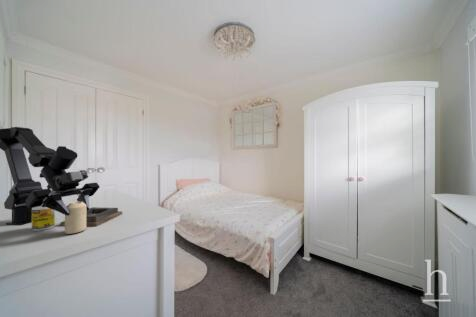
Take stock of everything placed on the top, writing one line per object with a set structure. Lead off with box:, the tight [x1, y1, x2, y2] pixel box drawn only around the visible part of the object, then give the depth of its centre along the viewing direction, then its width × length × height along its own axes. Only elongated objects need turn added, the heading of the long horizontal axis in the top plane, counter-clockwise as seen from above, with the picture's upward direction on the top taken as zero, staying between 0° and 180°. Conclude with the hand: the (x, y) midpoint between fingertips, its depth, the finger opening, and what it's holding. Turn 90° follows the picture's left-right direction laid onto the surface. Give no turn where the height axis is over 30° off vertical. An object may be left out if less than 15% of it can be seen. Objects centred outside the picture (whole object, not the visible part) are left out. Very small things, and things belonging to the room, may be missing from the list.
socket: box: [60, 207, 123, 227], centre depth 73 cm, size 14×14×3 cm
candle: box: [64, 200, 87, 235], centre depth 61 cm, size 6×6×10 cm
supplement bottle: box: [31, 204, 56, 232], centre depth 63 cm, size 6×6×10 cm
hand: (78, 212), depth 60 cm, fingers closed on candle, 5 cm apart
